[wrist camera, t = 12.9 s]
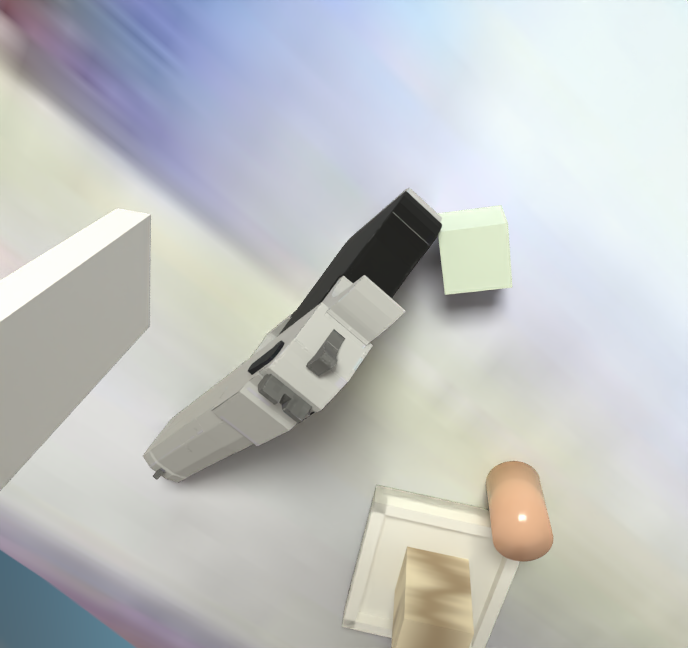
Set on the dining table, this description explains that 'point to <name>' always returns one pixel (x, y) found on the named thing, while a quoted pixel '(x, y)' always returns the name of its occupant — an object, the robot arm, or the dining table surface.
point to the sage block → (475, 250)
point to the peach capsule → (518, 512)
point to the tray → (431, 535)
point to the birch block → (432, 602)
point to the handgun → (304, 347)
